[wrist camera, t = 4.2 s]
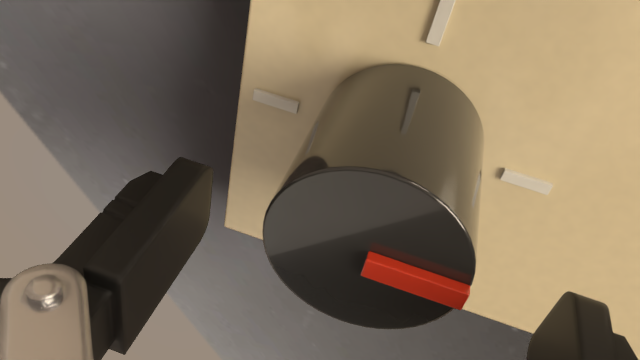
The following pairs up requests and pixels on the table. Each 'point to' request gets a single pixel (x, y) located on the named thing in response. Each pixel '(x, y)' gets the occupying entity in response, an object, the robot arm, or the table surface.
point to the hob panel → (498, 126)
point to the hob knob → (382, 201)
